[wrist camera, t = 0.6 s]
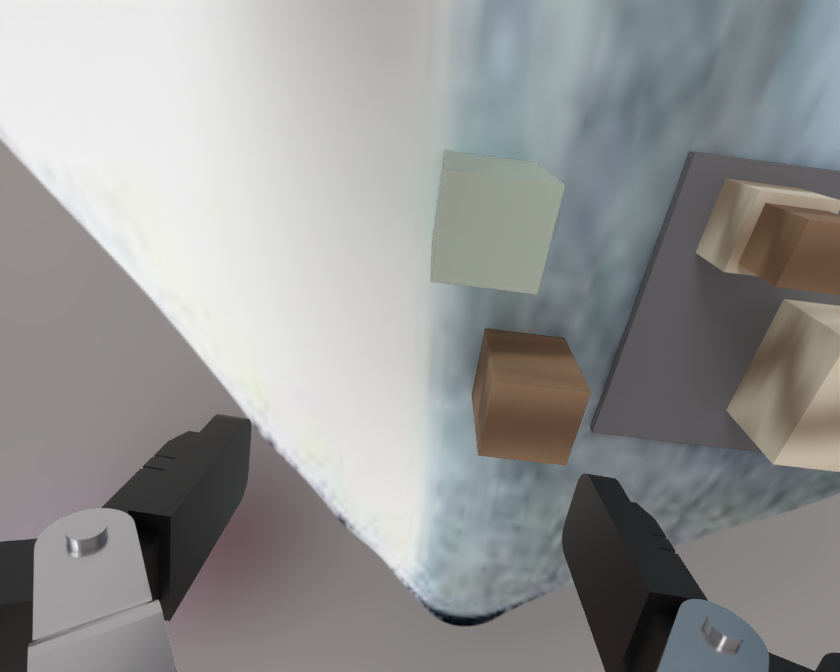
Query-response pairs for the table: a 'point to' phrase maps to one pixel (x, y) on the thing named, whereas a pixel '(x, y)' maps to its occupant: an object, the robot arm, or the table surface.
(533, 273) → the sage block
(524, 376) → the walnut block
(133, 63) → the table surface
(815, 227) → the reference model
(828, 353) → the birch base block
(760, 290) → the charcoal mat
